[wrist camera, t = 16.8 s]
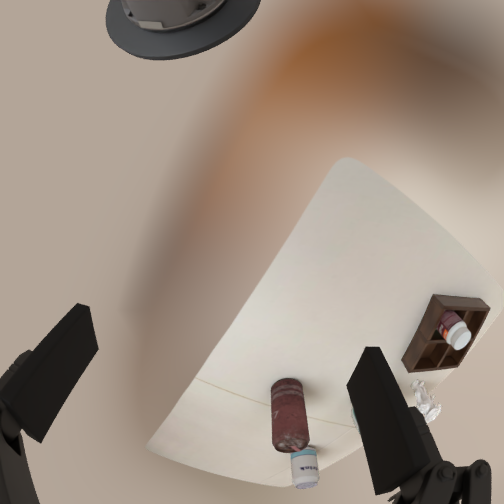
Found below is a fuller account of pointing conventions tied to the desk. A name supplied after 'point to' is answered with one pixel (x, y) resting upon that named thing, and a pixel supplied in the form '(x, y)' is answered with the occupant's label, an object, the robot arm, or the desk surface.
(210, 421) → the desk surface
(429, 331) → the holder
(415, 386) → the flower shoulder figurine
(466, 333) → the pill bottle
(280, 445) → the red cylinder
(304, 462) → the beverage can
